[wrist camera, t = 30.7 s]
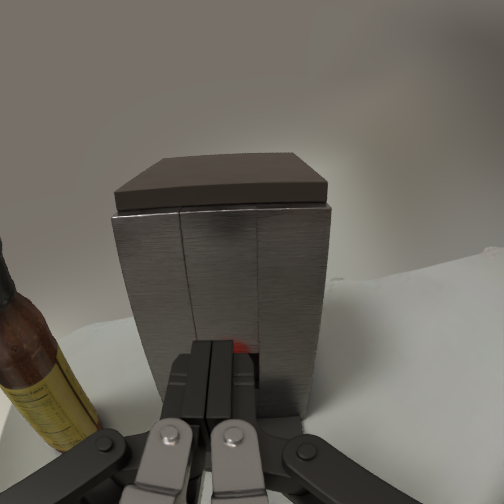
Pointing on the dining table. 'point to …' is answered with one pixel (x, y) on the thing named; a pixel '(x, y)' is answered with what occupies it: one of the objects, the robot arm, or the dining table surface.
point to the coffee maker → (230, 269)
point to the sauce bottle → (40, 372)
